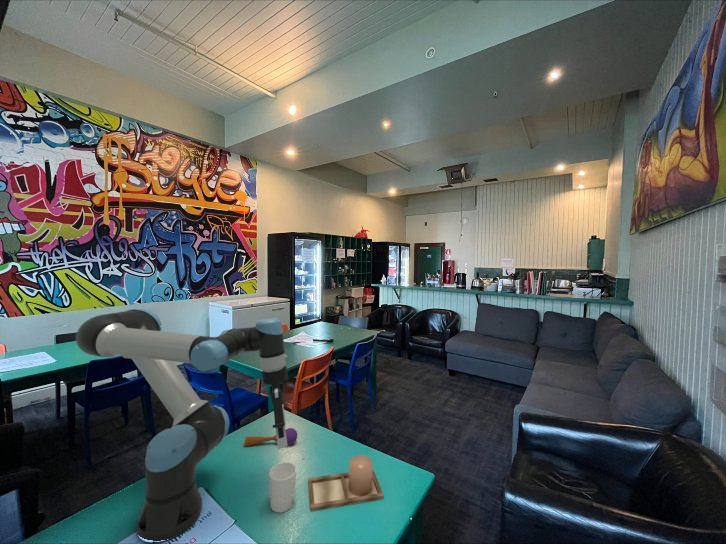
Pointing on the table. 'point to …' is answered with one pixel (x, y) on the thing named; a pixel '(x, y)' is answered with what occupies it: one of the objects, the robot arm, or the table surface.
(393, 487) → the table surface
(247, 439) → the kendama
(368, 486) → the pink round cylinder
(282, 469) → the white cup
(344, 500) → the wooden divided tray
